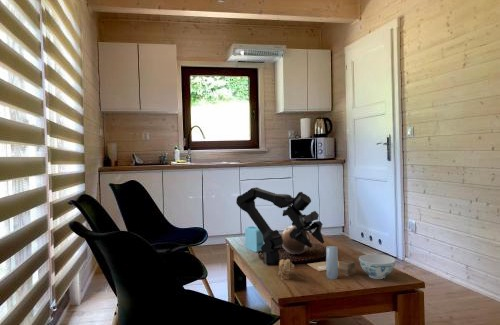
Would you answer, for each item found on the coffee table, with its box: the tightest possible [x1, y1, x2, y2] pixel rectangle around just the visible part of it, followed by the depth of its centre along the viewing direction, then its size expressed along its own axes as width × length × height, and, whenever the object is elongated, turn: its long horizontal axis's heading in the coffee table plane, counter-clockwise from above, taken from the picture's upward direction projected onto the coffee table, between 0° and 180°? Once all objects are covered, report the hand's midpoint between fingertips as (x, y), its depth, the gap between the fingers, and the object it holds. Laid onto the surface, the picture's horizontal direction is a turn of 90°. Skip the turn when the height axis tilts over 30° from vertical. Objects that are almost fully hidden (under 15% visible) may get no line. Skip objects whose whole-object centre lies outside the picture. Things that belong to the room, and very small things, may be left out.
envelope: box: [307, 260, 341, 272], centre depth 196 cm, size 16×12×1 cm
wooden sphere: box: [280, 224, 311, 255], centre depth 218 cm, size 15×15×15 cm
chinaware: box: [358, 253, 397, 280], centre depth 179 cm, size 15×15×8 cm
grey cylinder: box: [325, 245, 339, 280], centre depth 179 cm, size 5×5×13 cm
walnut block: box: [338, 259, 357, 277], centre depth 185 cm, size 5×5×5 cm
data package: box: [244, 225, 265, 253], centre depth 228 cm, size 12×4×12 cm, turn 31°
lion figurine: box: [277, 258, 295, 281], centre depth 182 cm, size 15×5×9 cm, turn 14°
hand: (317, 245), depth 184 cm, fingers open, 9 cm apart
